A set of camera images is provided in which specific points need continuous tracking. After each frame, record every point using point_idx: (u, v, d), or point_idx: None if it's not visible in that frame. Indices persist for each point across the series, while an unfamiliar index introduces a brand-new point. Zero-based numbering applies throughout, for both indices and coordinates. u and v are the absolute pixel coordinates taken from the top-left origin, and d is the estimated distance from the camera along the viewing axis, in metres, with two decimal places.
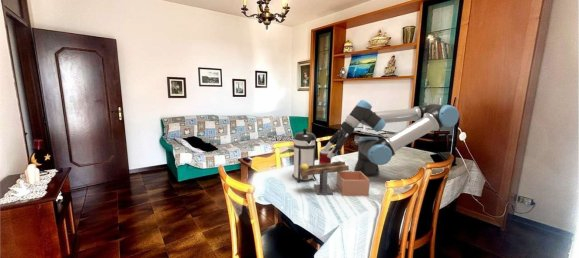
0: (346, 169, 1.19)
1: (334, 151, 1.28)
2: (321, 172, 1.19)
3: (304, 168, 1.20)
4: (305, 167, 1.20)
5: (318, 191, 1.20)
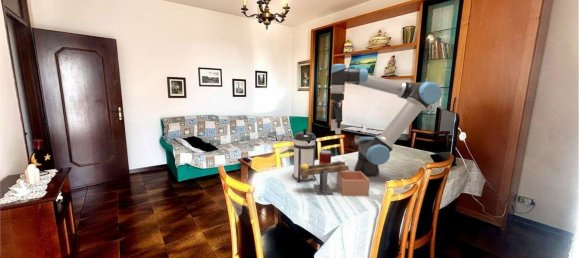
0: (346, 169, 1.19)
1: (338, 126, 1.28)
2: (321, 172, 1.19)
3: (304, 168, 1.20)
4: (305, 167, 1.20)
5: (318, 191, 1.20)
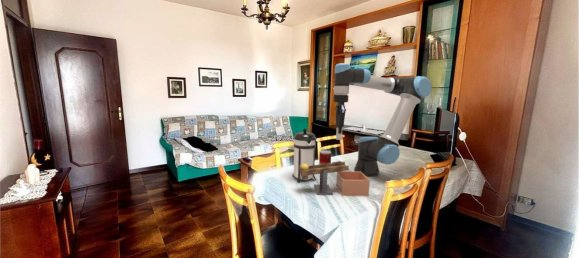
0: (346, 169, 1.19)
1: (339, 131, 1.25)
2: (321, 172, 1.19)
3: (304, 168, 1.20)
4: (305, 167, 1.20)
5: (318, 191, 1.20)
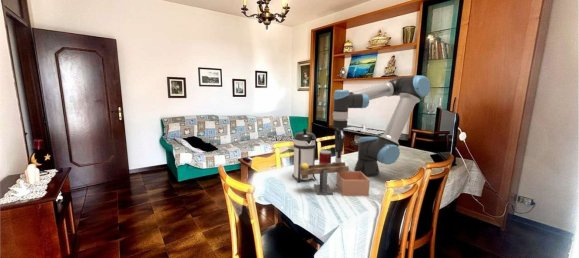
0: (346, 170, 1.19)
1: (338, 155, 1.26)
2: (321, 172, 1.19)
3: (304, 167, 1.20)
4: (305, 166, 1.20)
5: (318, 191, 1.20)
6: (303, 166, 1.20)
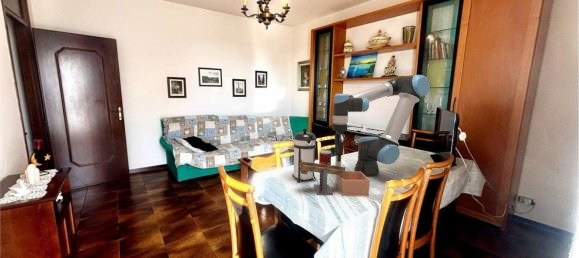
0: (346, 174, 1.20)
1: (338, 159, 1.27)
2: (321, 171, 1.19)
3: None
4: None
5: (318, 191, 1.20)
6: None
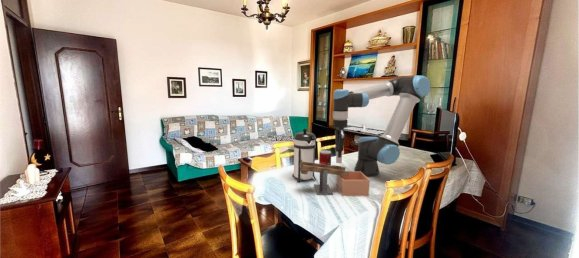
0: (346, 174, 1.20)
1: (339, 155, 1.27)
2: (321, 171, 1.19)
3: None
4: None
5: (318, 191, 1.20)
6: None
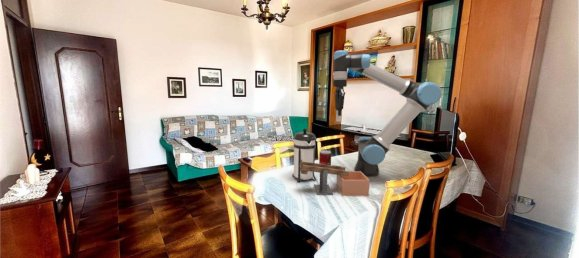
0: (346, 174, 1.20)
1: (339, 113, 1.35)
2: (321, 171, 1.19)
3: None
4: None
5: (318, 191, 1.20)
6: None
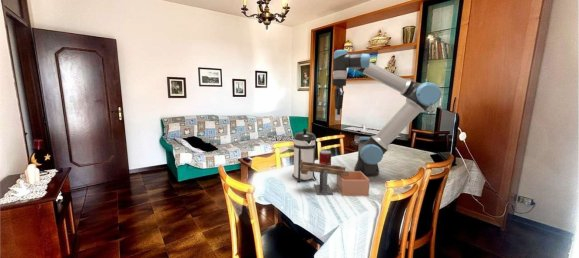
0: (346, 174, 1.20)
1: (338, 112, 1.37)
2: (321, 171, 1.19)
3: None
4: None
5: (318, 191, 1.20)
6: None
